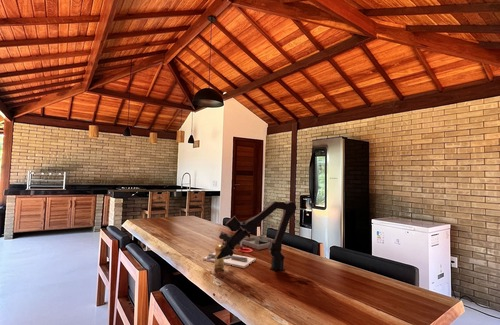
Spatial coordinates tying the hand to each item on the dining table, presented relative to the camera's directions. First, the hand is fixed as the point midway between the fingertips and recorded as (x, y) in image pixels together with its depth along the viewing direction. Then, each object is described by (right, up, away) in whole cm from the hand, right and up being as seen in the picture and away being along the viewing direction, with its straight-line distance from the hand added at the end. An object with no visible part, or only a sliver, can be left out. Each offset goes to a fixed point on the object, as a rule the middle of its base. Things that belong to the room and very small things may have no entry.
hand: (217, 257), depth 150 cm
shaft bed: (+6, -7, +16) cm, 18 cm away
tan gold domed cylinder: (+1, -7, 0) cm, 7 cm away
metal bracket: (+27, -9, +57) cm, 63 cm away
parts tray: (+25, -10, +56) cm, 62 cm away
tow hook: (+15, -9, +37) cm, 41 cm away
